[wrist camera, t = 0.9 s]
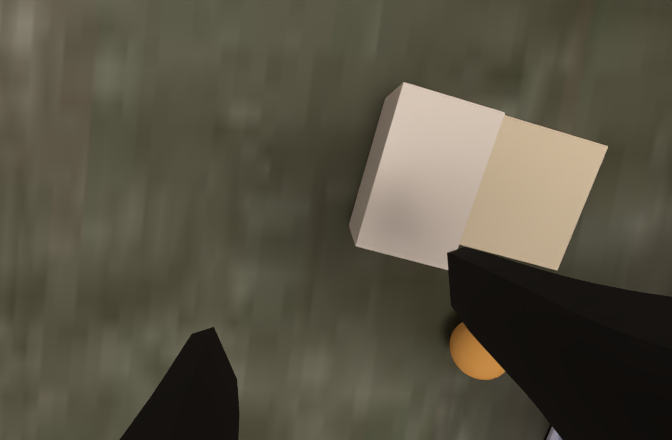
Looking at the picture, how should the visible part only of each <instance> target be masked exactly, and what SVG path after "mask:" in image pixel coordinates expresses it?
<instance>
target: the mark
mask: <svg viewBox="0 0 672 440" xmlns="http://www.w3.org/2000/svg"><path fill="white" fill-rule="evenodd" d="M607 148H608V146H605V145H602V144H599V143H595V142H592V141H589V140H585V139H582V138H579V137H575V136H572V135H569V134H565V133H562V132H559V131H555V130H552V129H549V128H546V127H542V126H539V125H536V124H532V123H529V122H526V121H522V120H519V119H516V118H512V117H509V116H506V115H504V117H503V120H502V123H501V126H500V129H499V132H498V135H497V137H496V140H495V143H494V146H493V149H492V152H491V155H490V157H489V160H488V163H487V166H486V169H485V172H484V175H483V177H482V180H481V183H480V186H479V189H478V192H477V195H476V197H475V200H474V203H473V206H472V209H471V212H470V215H469V217H468V220H467V223H466V226H465V229H464V232H463V235H462V237H461V240H460V243H459V244H460V245H463V246H467V247H471V248H475V249H478V250H482V251H486V252H490V253H493V254H497V255H501V256H505V257H508V258H512V259H516V260H520V261H524V262H527V263H531V264H535V265H539V266H542V267H546V268H550V269H554V270H558V268H559V265H560V263H561V261H562V258H563V256H564V253H565V251H566V248H567V246H568V243H569V241H570V239H571V236H572V234H573V231H574V229H575V226H576V224H577V221H578V219H579V217H580V214H581V212H582V209H583V207H584V204H585V202H586V199H587V197H588V195H589V192H590V190H591V187H592V185H593V182H594V180H595V177H596V175H597V173H598V170H599V168H600V165H601V163H602V160H603V158H604V155H605V153H606V151H607Z"/></svg>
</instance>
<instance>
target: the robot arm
mask: <svg viewBox="0 0 672 440" xmlns="http://www.w3.org/2000/svg"><path fill="white" fill-rule="evenodd" d="M447 260H448V272H449V285H450V297H451V306H452V307H453V309H454V310H455V312H456V313H457V315H458V316H459V318H460V319H461V321H462V322H463V323H464V325H465V326H466V328H467V329H468V330H469V332H470V333H471V334H472V335H473V336H474V337H475V338H476V340H477V341H478V342H479V343H480V344H481V345H482V346H483V347H484V348H485V350H486V351H487V352H488V353H489V354H490V355H491V356H492V357H493V358H494V359H495V360H496V361H497V363H498V364H499V365H500V366H501V367H502V368H503V369H504V370H505V371H506V372H507V373H508V374H509V376H510V377H511V378H512V379H513V380H514V381H515V382H516V383H517V384H518V385H519V386H520V387H521V389H522V390H523V391H524V392H525V393H526V394H527V395H528V397H529V398H530V399H531V400H532V401H533V402H534V404H535V405H536V406H537V407H538V409H539V410H540V411H541V412H542V414H543V415H544V416H545V418H546V419H547V420H548V422H549V423H550V424H551V426H552V428H551V430H550V432H549V435H548V437H547V439H546V440H672V297H670V296H662V295H655V294H648V293H642V292H636V291H630V290H625V289H620V288H615V287H610V286H605V285H600V284H595V283H590V282H586V281H581V280H577V279H574V278H570V277H566V276H562V275H558V274H554V273H551V272H547V271H544V270H540V269H537V268H533V267H530V266H527V265H523V264H520V263H517V262H514V261H511V260H507V259H504V258H501V257H498V256H495V255H492V254H488V253H485V252H482V251H478V250H475V249H471V248H467V247H463V248H460V249H457V250H454V251H451V252H448V253H447ZM238 433H239V400H238V387H237V378H236V376H235V374H234V372H233V369H232V367H231V365H230V362H229V360H228V358H227V356H226V353H225V351H224V349H223V347H222V344H221V342H220V340H219V338H218V335H217V333H216V331H215V328H214V327H212V328H209V329H206V330H203V331H200V332H197V333H194V334H192V335H191V336H190V338H189V339H188V341H187V342H186V344H185V345H184V347H183V348H182V350H181V351H180V353H179V355H178V356H177V358H176V359H175V361H174V362H173V364H172V365H171V367H170V369H169V370H168V372H167V373H166V375H165V376H164V378H163V379H162V381H161V382H160V384H159V385H158V387H157V388H156V390H155V391H154V393H153V394H152V396H151V397H150V399H149V400H148V401H147V403H146V404H145V405H144V407H143V408H142V410H141V411H140V412H139V414H138V415H137V417H136V418H135V419H134V421H133V422H132V423H131V425H130V426H129V428H128V429H127V430H126V432H125V433H124V434H123V436H122V437H121V438H120V440H238Z"/></svg>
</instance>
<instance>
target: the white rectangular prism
mask: <svg viewBox="0 0 672 440" xmlns="http://www.w3.org/2000/svg"><path fill="white" fill-rule="evenodd" d="M504 115H505V112H501V111H498V110H495V109H491V108H488V107H485V106H481V105H478V104H475V103H471V102H468V101H465V100H461V99H458V98H455V97H452V96H448V95H445V94H442V93H438V92H435V91H432V90H428V89H425V88H422V87H418V86H415V85H412V84H408V83H405V82H403V83H402V84H401V85H400V86H399V87H398V88H396V89H395V90H394V91H393V92H392V93H391V94H390V95H388V96H387V97H386V98H385V101H384V104H383V107H382V111H381V114H380V118H379V121H378V125H377V128H376V132H375V135H374V139H373V142H372V146H371V149H370V153H369V156H368V160H367V163H366V167H365V170H364V174H363V177H362V181H361V184H360V188H359V191H358V195H357V198H356V202H355V205H354V209H353V212H352V216H351V219H350V223H349V228H350V231H351V234H352V237H353V240H354V243H355V246H357V247H360V248H364V249H368V250H372V251H376V252H380V253H384V254H388V255H391V256H395V257H399V258H403V259H407V260H411V261H415V262H418V263H422V264H426V265H430V266H434V267H438V268H442V269H446V270H448V260H447V253H448V252H451V251H454V250H457V249H458V246H459V243H460V240H461V237H462V235H463V232H464V229H465V226H466V223H467V220H468V217H469V215H470V212H471V209H472V206H473V203H474V200H475V197H476V195H477V192H478V189H479V186H480V183H481V180H482V177H483V175H484V172H485V169H486V166H487V163H488V160H489V157H490V155H491V152H492V149H493V146H494V143H495V140H496V137H497V135H498V132H499V129H500V126H501V123H502V120H503V117H504Z"/></svg>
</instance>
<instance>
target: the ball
mask: <svg viewBox="0 0 672 440" xmlns="http://www.w3.org/2000/svg"><path fill="white" fill-rule="evenodd" d="M450 352H451V356H452V358H453V360H454V362H455V363H456V365H457V366H458V367H459V368H460V369H461V370H462V371H463V372H464V373H465V374H467V375H469V376H471V377H473V378H476V379H480V380H490V379H494V378H497V377H499V376H500V375H502V374H503V373H504V372H505V370H504V369H503V368H502V367H501V366H500V365H499V364H498V363H497V361H496V360H495V359H494V358H493V357H492V356H491V355H490V354H489V353H488V352H487V351H486V350H485V348H484V347H483V346H482V345H481V344H480V343H479V342H478V341H477V340H476V338H475V337H474V336H473V335H472V334H471V333H470V332H469V330H468V329H467V328H466V326H465V325H464V323H463V322H462V323H460V324H459V325H458V326H457V327H456V328H455V329H454V331H453V332H452V335H451V338H450Z"/></svg>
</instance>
